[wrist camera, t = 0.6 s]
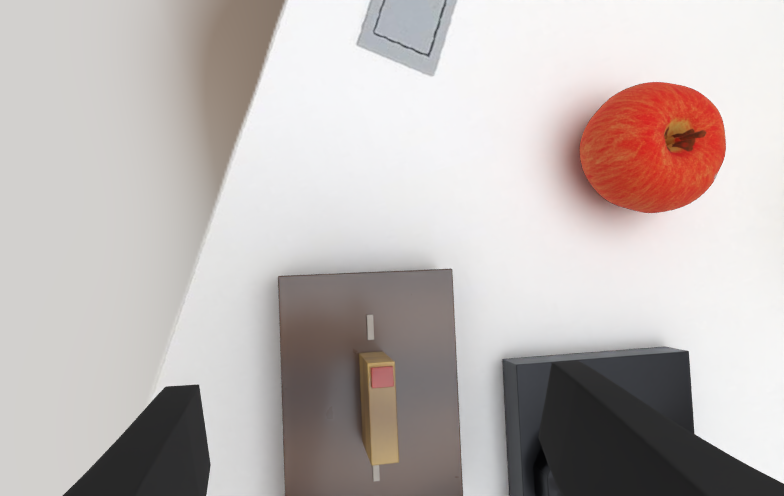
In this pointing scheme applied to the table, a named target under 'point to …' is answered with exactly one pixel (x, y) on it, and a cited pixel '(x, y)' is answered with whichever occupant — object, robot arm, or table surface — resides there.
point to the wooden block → (379, 407)
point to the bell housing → (623, 367)
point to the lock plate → (342, 382)
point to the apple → (653, 147)
